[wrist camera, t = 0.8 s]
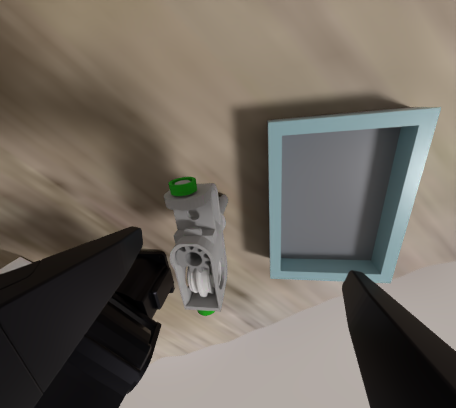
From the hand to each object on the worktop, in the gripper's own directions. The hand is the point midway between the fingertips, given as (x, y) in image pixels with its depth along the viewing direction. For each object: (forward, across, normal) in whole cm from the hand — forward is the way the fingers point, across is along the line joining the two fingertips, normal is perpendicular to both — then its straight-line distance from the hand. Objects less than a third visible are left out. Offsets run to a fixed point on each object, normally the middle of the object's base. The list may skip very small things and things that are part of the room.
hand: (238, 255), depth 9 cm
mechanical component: (+13, +3, +4) cm, 14 cm away
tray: (+13, -7, +2) cm, 15 cm away
